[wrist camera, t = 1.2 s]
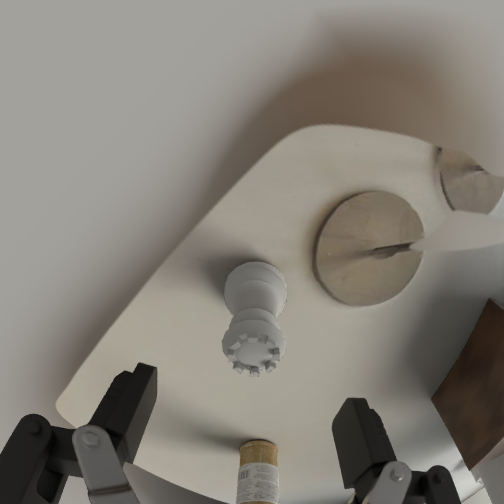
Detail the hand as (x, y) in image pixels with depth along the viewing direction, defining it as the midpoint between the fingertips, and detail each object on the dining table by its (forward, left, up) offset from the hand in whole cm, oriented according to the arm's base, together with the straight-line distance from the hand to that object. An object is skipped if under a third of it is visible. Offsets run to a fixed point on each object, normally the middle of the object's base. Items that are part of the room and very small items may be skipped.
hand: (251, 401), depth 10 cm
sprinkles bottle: (+21, +5, -11) cm, 24 cm away
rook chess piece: (0, 0, -11) cm, 11 cm away
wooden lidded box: (+4, +30, -11) cm, 32 cm away
